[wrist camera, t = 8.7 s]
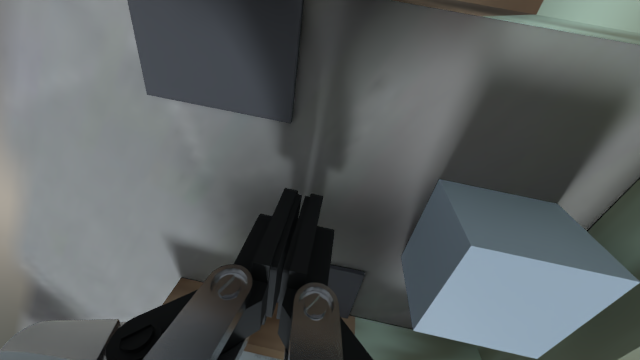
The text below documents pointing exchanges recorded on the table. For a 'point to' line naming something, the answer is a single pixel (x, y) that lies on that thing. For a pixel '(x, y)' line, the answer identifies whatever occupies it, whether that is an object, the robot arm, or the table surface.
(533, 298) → the block
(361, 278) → the plate
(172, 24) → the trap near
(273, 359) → the tea box
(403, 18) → the table surface
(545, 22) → the trap lane
